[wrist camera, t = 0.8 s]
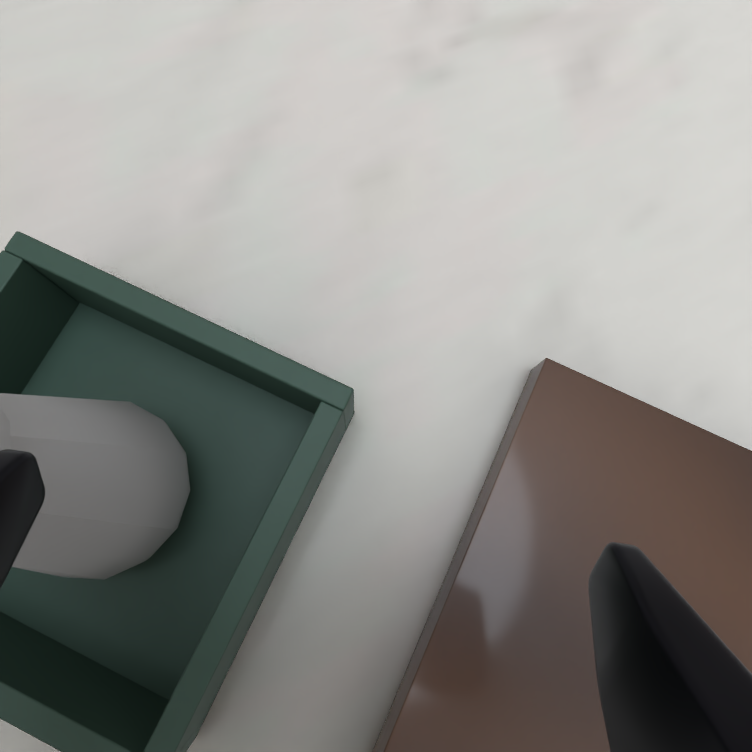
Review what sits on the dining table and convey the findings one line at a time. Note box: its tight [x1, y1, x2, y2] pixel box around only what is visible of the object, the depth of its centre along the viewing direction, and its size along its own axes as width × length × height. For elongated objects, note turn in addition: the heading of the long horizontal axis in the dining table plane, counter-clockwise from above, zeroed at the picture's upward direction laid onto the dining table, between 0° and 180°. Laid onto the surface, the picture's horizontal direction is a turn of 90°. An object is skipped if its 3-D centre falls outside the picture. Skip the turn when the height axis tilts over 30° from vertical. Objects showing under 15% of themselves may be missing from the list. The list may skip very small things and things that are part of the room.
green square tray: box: [0, 232, 354, 752], centre depth 19 cm, size 13×13×4 cm
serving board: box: [373, 358, 752, 752], centre depth 19 cm, size 20×12×2 cm, turn 155°
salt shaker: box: [0, 393, 190, 579], centre depth 15 cm, size 6×6×13 cm
